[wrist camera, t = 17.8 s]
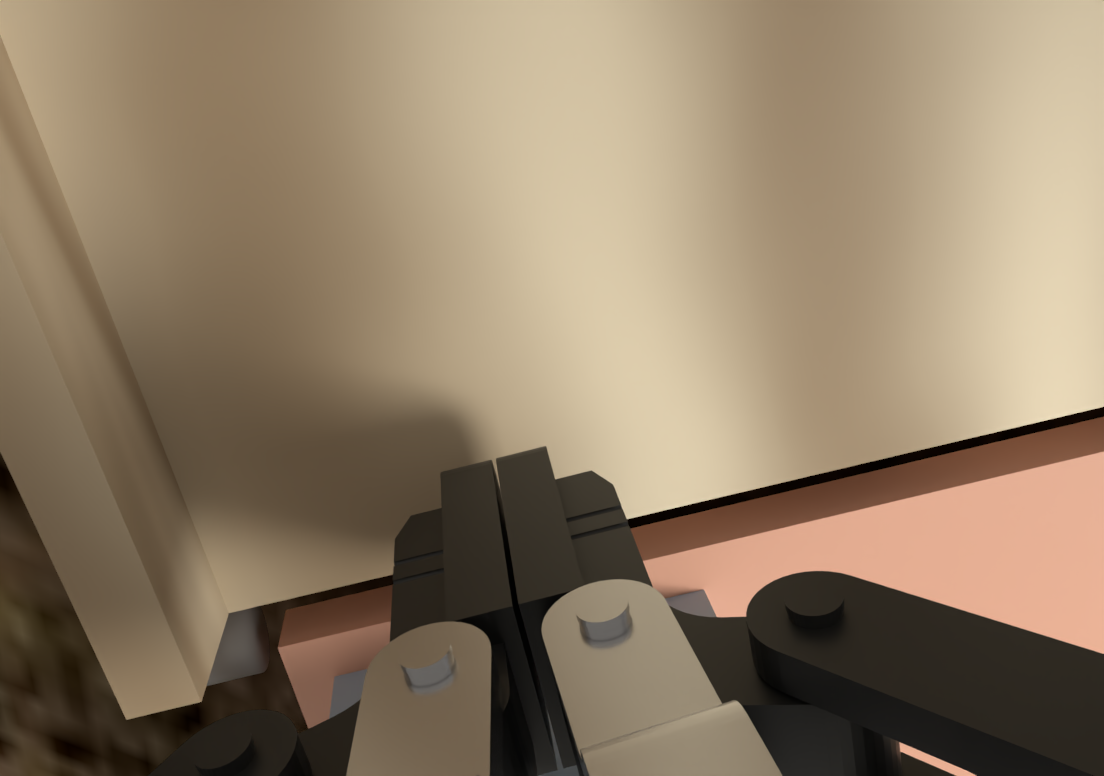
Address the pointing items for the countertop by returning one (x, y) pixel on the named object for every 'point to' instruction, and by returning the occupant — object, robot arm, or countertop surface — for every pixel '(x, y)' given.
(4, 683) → the countertop surface
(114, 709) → the countertop surface
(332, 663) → the pink rectangular board
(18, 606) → the countertop surface
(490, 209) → the flatbed
